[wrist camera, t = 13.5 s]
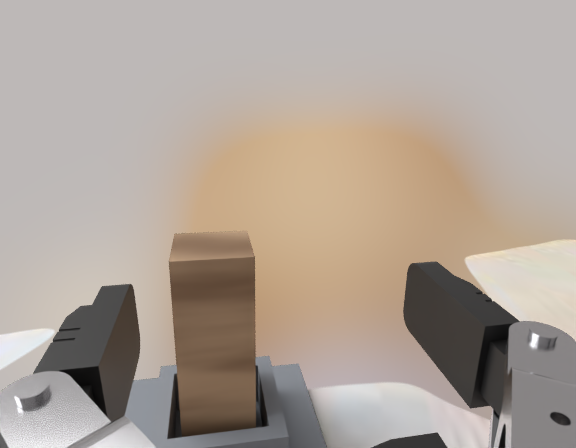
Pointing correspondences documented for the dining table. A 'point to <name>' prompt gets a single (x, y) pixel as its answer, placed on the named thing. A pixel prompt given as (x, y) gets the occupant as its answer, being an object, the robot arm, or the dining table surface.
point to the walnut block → (214, 330)
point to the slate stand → (240, 443)
